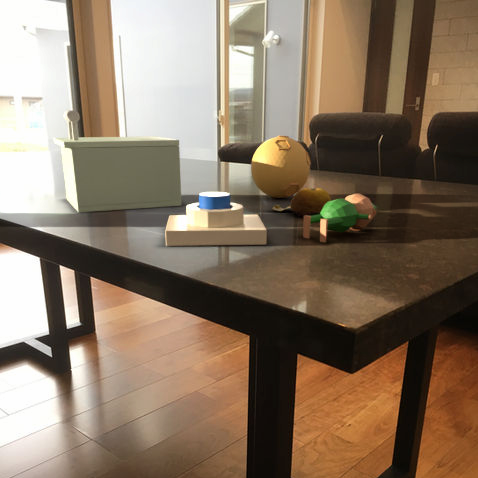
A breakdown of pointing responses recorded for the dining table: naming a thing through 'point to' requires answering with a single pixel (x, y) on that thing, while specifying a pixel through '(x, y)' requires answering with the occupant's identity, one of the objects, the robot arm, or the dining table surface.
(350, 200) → the figurine
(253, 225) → the control block
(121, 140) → the lid
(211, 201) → the button
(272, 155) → the stress ball
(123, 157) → the compartment
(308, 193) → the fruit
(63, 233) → the dining table surface
